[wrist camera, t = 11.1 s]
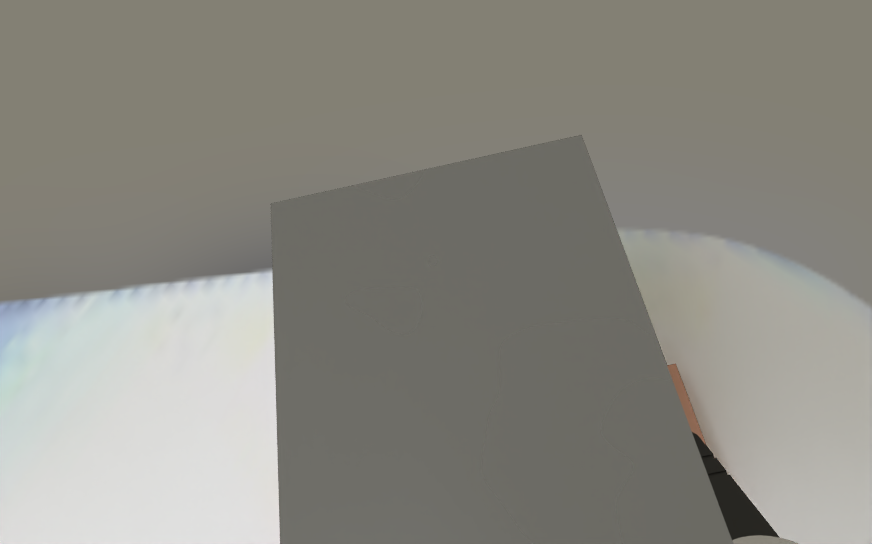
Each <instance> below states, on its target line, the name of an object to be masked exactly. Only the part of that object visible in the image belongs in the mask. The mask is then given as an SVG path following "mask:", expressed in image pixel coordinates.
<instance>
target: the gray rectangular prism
mask: <svg viewBox="0 0 872 544" xmlns="http://www.w3.org/2000/svg"><path fill="white" fill-rule="evenodd" d="M271 228H272V230H271V231H272V263H273V265H272V267H273V302H274V338H275V374H276V409H277V445H278V481H279V517H280V544H733V542H732V539H731V536H730V534H729V531H728V528H727V525H726V523H725V520H724V517H723V515H722V512H721V509H720V507H719V504H718V501H717V499H716V496H715V493H714V490H713V488H712V485H711V482H710V480H709V477H708V474H707V472H706V469H705V466H704V464H703V461H702V458H701V455H700V453H699V450H698V447H697V445H696V442H695V439H694V437H693V434H692V431H691V429H690V426H689V423H688V420H687V418H686V415H685V412H684V410H683V407H682V404H681V402H680V399H679V396H678V394H677V391H676V388H675V385H674V383H673V380H672V377H671V375H670V372H669V369H668V367H667V364H666V361H665V358H664V356H663V353H662V350H661V348H660V345H659V342H658V340H657V337H656V334H655V332H654V329H653V326H652V323H651V321H650V318H649V315H648V313H647V310H646V307H645V305H644V302H643V299H642V297H641V294H640V291H639V288H638V286H637V283H636V280H635V278H634V275H633V272H632V270H631V267H630V264H629V262H628V259H627V256H626V253H625V251H624V248H623V245H622V243H621V240H620V237H619V235H618V232H617V229H616V227H615V224H614V221H613V218H612V216H611V213H610V211H609V208H608V205H607V202H606V200H605V197H604V195H603V192H602V189H601V186H600V183H599V181H598V178H597V175H596V173H595V170H594V167H593V165H592V162H591V159H590V157H589V154H588V151H587V149H586V146H585V143H584V141H583V138H582V135H579V136H574V137H570V138H565V139H561V140H556V141H552V142H548V143H543V144H538V145H534V146H529V147H525V148H520V149H516V150H511V151H507V152H502V153H497V154H493V155H488V156H484V157H479V158H475V159H471V160H466V161H462V162H457V163H452V164H448V165H443V166H439V167H434V168H430V169H425V170H421V171H416V172H412V173H407V174H403V175H398V176H393V177H389V178H384V179H380V180H375V181H371V182H366V183H362V184H357V185H352V186H348V187H343V188H339V189H335V190H330V191H325V192H321V193H316V194H312V195H307V196H303V197H298V198H294V199H289V200H285V201H280V202H276V203H271Z"/></svg>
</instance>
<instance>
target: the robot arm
mask: <svg viewBox="0 0 872 544" xmlns="http://www.w3.org/2000/svg"><path fill="white" fill-rule="evenodd" d="M692 434H693V437H694V439H695V442H696V445H697V447H698V450H699V453H700V455H701V458H702V461H703V464H704V466H705V469H706V472H707V474H708V477H709V480H710V482H711V485H712V488H713V490H714V493H715V496H716V499H717V501H718V504H719V507H720V509H721V512H722V515H723V517H724V520H725V523H726V525H727V528H728V531H729V534H730V536H731V539H732V542H733V544H798V543H795V542H793V541H790V540H786V539H783V538H780V537H779V536H778V535H777V533H776V532H775V531H774V530H773V528H772V527H771V526H770V525H769V523H768V522H767V521H766V520H765V518H764V517H763V516H762V515H761V513H760V512H759V511H758V510H757V508H756V507H755V506H754V505H753V503H752V502H751V501H750V500H749V498H748V497H747V496H746V495H745V493H744V492H743V491H742V490H741V488H740V487H739V486H738V485H737V483H736V482H735V481H734V480H733V478H732V477H731V476H730V475H727V472H726V470H725V468H724V467H723V466H722V465H721V463H720V462H719V461H718V460H717V458H714V456H713V453H712V452H711V451H710V450H709V448H708V447H707V446H706V445H705V443H704V442H703V441H702V440H701V438H700V437H699V436H698V435H697V434H695V433H693V432H692Z"/></svg>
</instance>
